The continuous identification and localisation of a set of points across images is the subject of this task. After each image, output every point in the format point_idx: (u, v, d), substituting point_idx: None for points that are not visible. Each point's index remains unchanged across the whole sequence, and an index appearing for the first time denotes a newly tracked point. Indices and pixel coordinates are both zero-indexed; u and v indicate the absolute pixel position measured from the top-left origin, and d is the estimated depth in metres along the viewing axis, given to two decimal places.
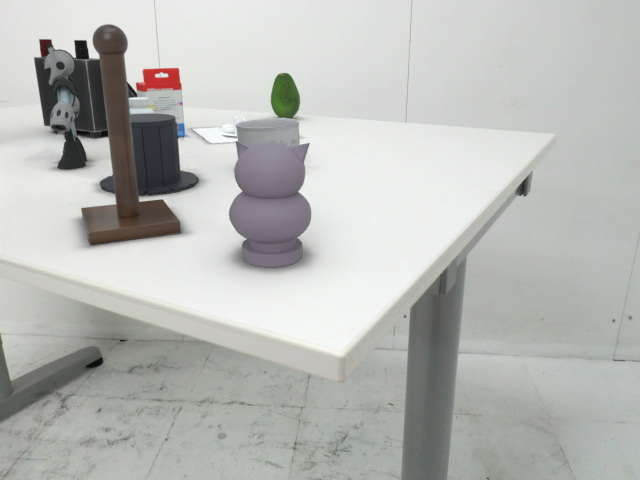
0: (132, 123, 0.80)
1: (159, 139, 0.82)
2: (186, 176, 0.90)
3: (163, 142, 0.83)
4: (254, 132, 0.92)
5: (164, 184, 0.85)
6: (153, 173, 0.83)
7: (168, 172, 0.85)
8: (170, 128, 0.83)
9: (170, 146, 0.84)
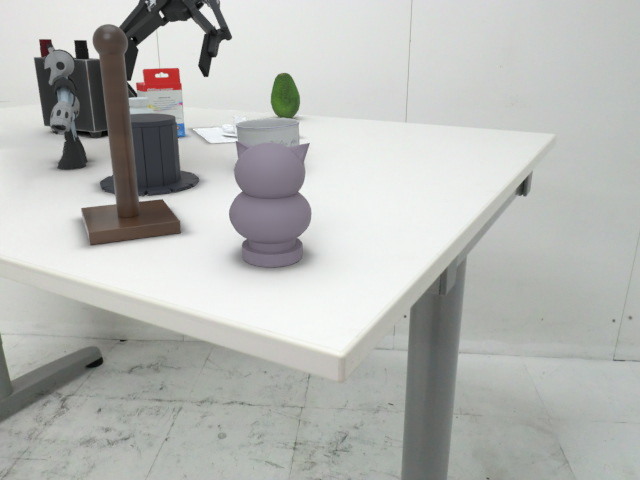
0: (132, 123, 0.80)
1: (159, 139, 0.82)
2: (186, 176, 0.90)
3: (163, 142, 0.83)
4: (254, 132, 0.92)
5: (164, 184, 0.85)
6: (153, 173, 0.83)
7: (168, 172, 0.85)
8: (170, 128, 0.83)
9: (170, 146, 0.84)
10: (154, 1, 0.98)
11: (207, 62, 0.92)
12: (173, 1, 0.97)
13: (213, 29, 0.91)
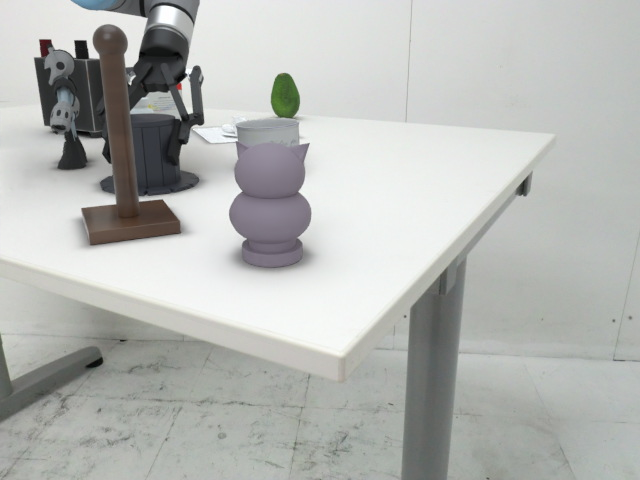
0: (132, 123, 0.80)
1: (159, 139, 0.82)
2: (186, 176, 0.90)
3: (163, 141, 0.83)
4: (254, 132, 0.92)
5: (164, 184, 0.85)
6: (153, 173, 0.83)
7: (168, 172, 0.85)
8: (170, 128, 0.83)
9: None
10: (131, 70, 0.90)
11: (177, 150, 0.84)
12: (153, 71, 0.89)
13: (184, 115, 0.84)
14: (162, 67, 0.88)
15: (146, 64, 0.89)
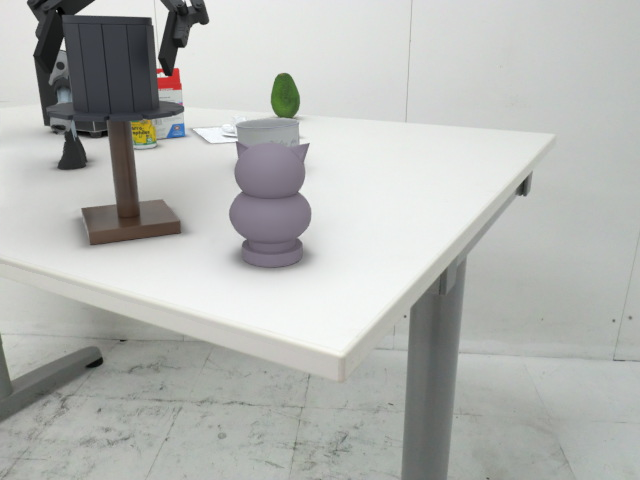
0: (88, 17, 0.56)
1: (127, 43, 0.58)
2: (167, 105, 0.66)
3: (133, 48, 0.59)
4: (254, 132, 0.92)
5: (135, 110, 0.61)
6: (119, 93, 0.59)
7: (140, 93, 0.61)
8: (143, 30, 0.59)
9: (143, 56, 0.60)
10: None
11: (172, 54, 0.61)
12: None
13: (183, 5, 0.61)
14: None
15: None
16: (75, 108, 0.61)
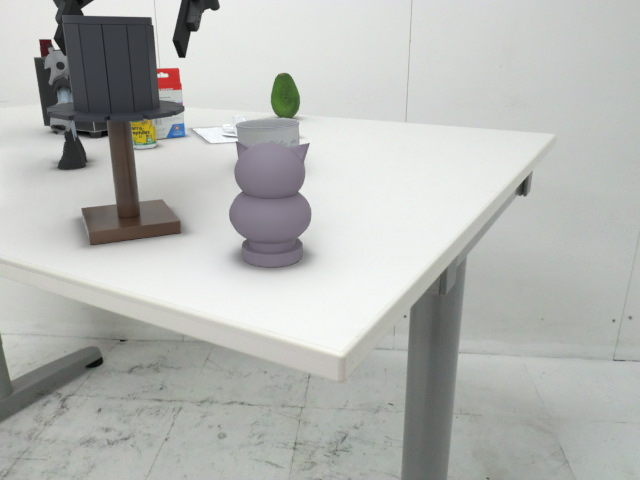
0: (88, 17, 0.56)
1: (127, 43, 0.58)
2: (167, 104, 0.66)
3: (133, 48, 0.59)
4: (254, 132, 0.92)
5: (135, 110, 0.61)
6: (119, 93, 0.59)
7: (141, 93, 0.61)
8: (143, 30, 0.59)
9: (143, 56, 0.60)
10: None
11: (185, 37, 0.65)
12: None
13: None
14: None
15: None
16: (76, 108, 0.61)
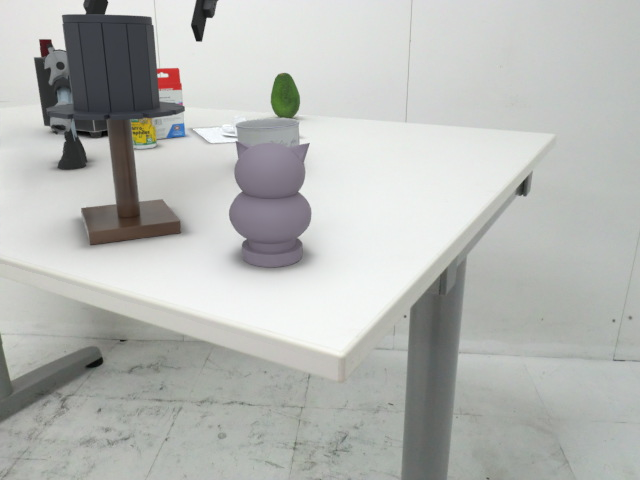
0: (88, 16, 0.56)
1: (127, 42, 0.58)
2: (168, 105, 0.66)
3: (133, 47, 0.59)
4: (254, 132, 0.92)
5: (135, 109, 0.60)
6: (119, 92, 0.59)
7: (141, 92, 0.61)
8: (143, 29, 0.59)
9: (143, 55, 0.60)
10: None
11: (202, 23, 0.71)
12: None
13: None
14: None
15: None
16: (75, 108, 0.61)
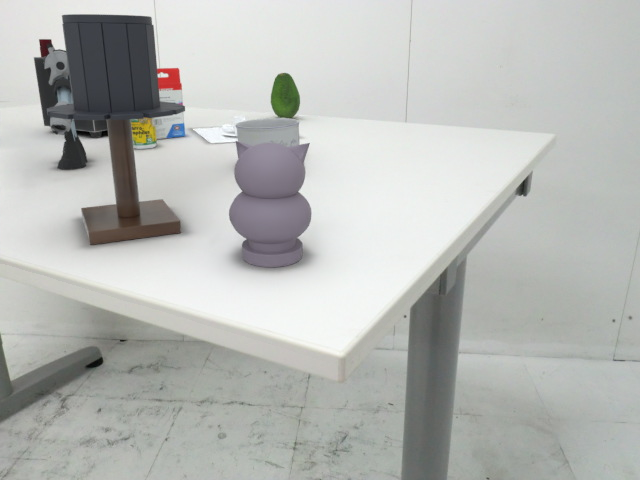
0: (88, 16, 0.56)
1: (127, 42, 0.58)
2: (168, 105, 0.66)
3: (133, 47, 0.59)
4: (254, 132, 0.92)
5: (135, 109, 0.60)
6: (119, 92, 0.59)
7: (141, 92, 0.61)
8: (143, 29, 0.59)
9: (144, 55, 0.60)
10: None
11: None
12: None
13: None
14: None
15: None
16: (76, 108, 0.61)
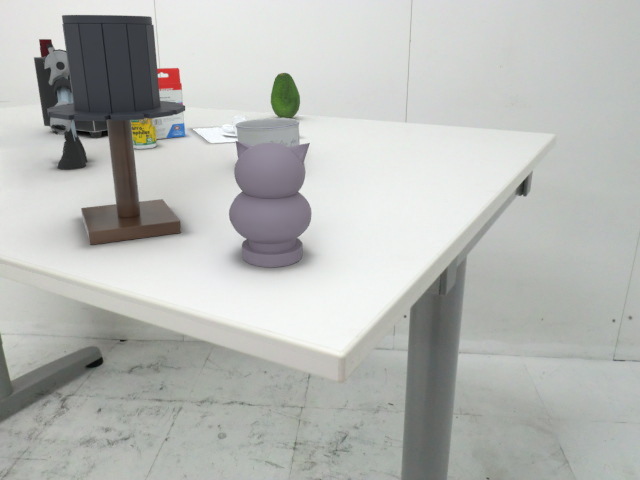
0: (88, 17, 0.56)
1: (128, 42, 0.58)
2: (168, 104, 0.66)
3: (133, 47, 0.59)
4: (254, 132, 0.92)
5: (136, 109, 0.60)
6: (120, 92, 0.59)
7: (141, 93, 0.61)
8: (143, 29, 0.59)
9: (144, 55, 0.60)
10: None
11: None
12: None
13: None
14: None
15: None
16: (76, 108, 0.61)
